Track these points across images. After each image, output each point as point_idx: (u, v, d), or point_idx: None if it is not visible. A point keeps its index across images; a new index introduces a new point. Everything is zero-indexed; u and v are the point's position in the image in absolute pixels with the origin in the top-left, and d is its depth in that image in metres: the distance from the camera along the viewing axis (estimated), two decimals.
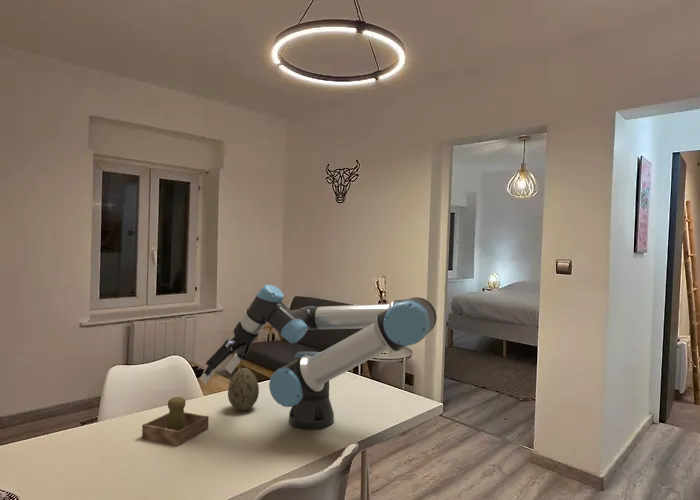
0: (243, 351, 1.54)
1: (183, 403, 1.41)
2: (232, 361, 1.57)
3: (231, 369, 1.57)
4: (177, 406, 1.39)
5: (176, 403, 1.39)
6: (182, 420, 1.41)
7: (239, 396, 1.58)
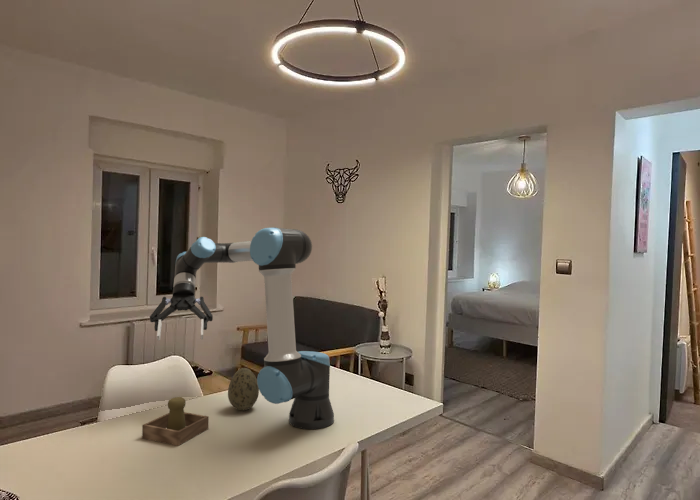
0: (197, 309, 1.59)
1: (183, 403, 1.41)
2: None
3: None
4: (177, 406, 1.39)
5: (176, 403, 1.39)
6: (182, 420, 1.41)
7: (239, 396, 1.58)
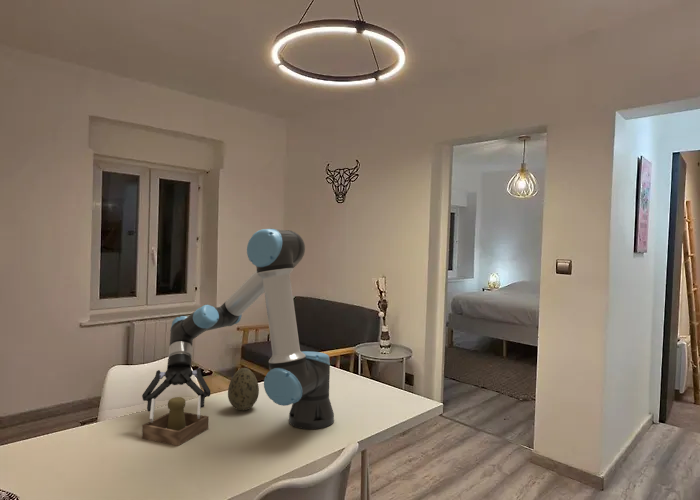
0: (193, 384, 1.48)
1: (183, 403, 1.41)
2: None
3: None
4: (177, 406, 1.39)
5: (176, 403, 1.39)
6: (182, 420, 1.41)
7: (239, 396, 1.58)
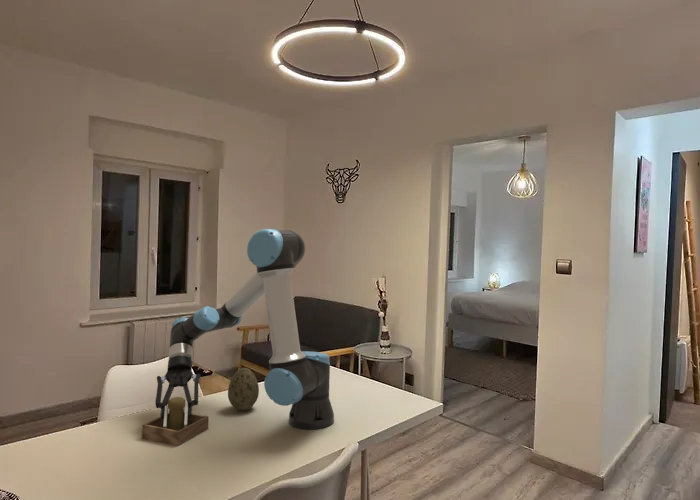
0: (186, 390, 1.46)
1: (183, 403, 1.41)
2: None
3: None
4: (177, 406, 1.39)
5: (176, 403, 1.39)
6: (182, 420, 1.41)
7: (239, 396, 1.58)
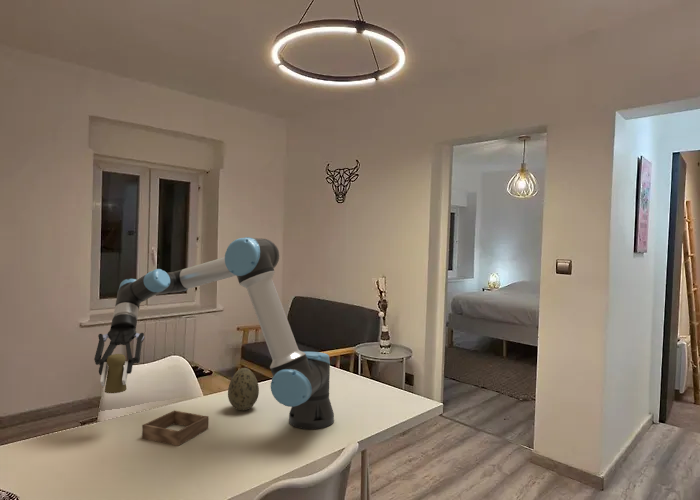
0: (128, 348, 1.44)
1: (122, 359, 1.40)
2: None
3: None
4: (115, 362, 1.38)
5: (115, 359, 1.38)
6: (121, 376, 1.39)
7: (239, 396, 1.58)
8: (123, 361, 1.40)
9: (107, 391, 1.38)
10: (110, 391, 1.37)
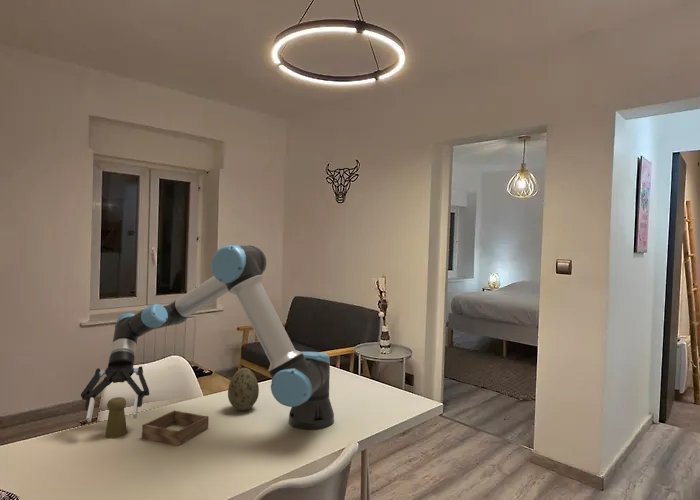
0: (133, 383, 1.45)
1: (123, 403, 1.40)
2: None
3: None
4: (116, 406, 1.38)
5: (115, 403, 1.38)
6: (122, 420, 1.39)
7: (239, 396, 1.58)
8: (124, 405, 1.40)
9: (108, 436, 1.38)
10: (111, 436, 1.37)
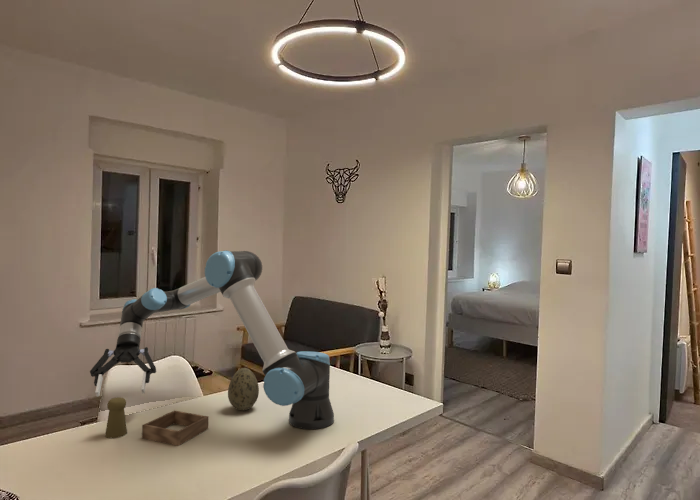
0: (140, 362, 1.57)
1: (123, 403, 1.40)
2: None
3: (142, 386, 1.52)
4: (116, 407, 1.38)
5: (115, 403, 1.38)
6: (122, 421, 1.39)
7: (239, 396, 1.58)
8: (124, 405, 1.40)
9: (108, 436, 1.38)
10: (111, 436, 1.37)
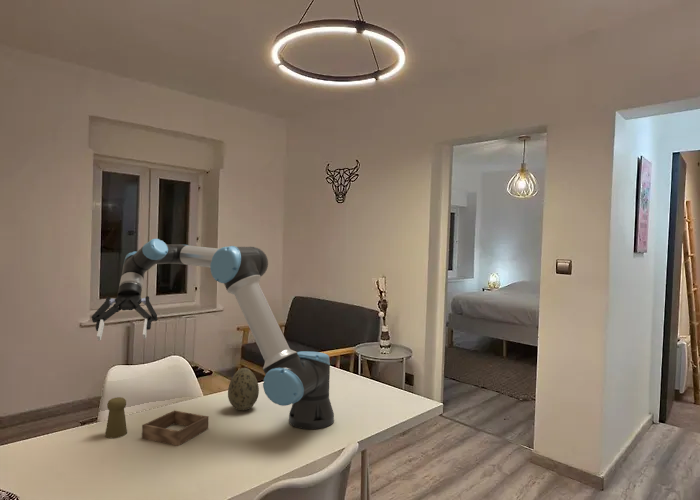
0: (141, 309, 1.58)
1: (123, 403, 1.40)
2: None
3: (143, 331, 1.53)
4: (116, 407, 1.38)
5: (115, 403, 1.38)
6: (122, 421, 1.39)
7: (239, 396, 1.58)
8: (124, 405, 1.40)
9: (108, 436, 1.38)
10: (111, 436, 1.37)
